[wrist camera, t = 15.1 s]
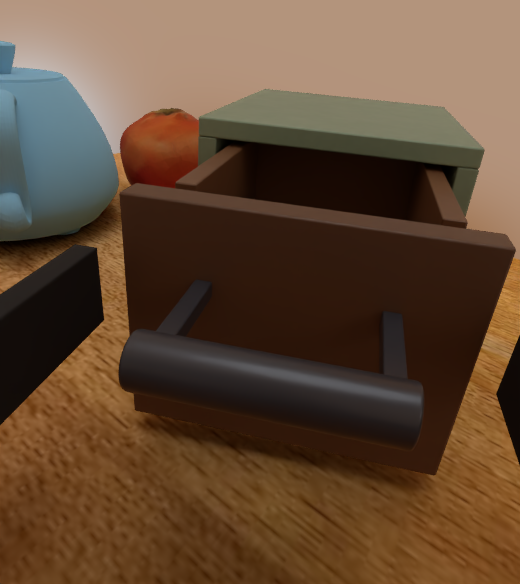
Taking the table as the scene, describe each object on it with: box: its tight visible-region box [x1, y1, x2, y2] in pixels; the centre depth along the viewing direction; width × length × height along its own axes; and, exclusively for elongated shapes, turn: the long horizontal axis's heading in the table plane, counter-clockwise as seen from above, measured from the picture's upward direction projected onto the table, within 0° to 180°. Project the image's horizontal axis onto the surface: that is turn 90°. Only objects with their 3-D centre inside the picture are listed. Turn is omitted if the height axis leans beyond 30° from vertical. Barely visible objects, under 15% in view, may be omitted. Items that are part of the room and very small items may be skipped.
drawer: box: [119, 140, 516, 475], centre depth 20 cm, size 19×12×9 cm, turn 168°
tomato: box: [120, 108, 199, 188], centre depth 44 cm, size 9×9×8 cm
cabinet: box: [198, 89, 484, 216], centre depth 30 cm, size 15×13×11 cm
